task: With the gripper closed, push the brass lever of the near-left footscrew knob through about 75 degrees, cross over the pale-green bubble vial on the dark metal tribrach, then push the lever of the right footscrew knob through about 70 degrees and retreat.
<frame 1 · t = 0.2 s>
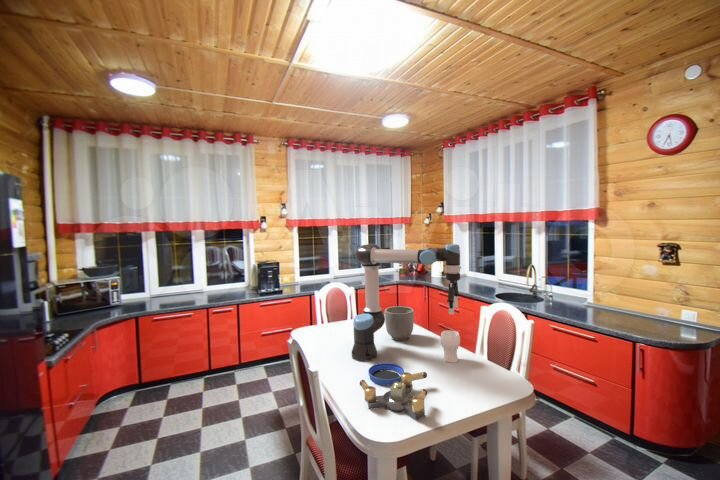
hand: (453, 310, 174), 28 cm above the table, fingers open, 13 cm apart
cup: (450, 360, 176), on the table
knob 1: (420, 399, 128), point 5 cm above the table, hinge at 0.0°
bowl: (386, 377, 158), on the table
knob 2: (414, 377, 147), point 5 cm above the table, hinge at 0.0°
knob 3: (366, 389, 137), point 5 cm above the table, hinge at 0.0°
tribrach: (398, 403, 135), on the table
planter: (399, 338, 212), on the table
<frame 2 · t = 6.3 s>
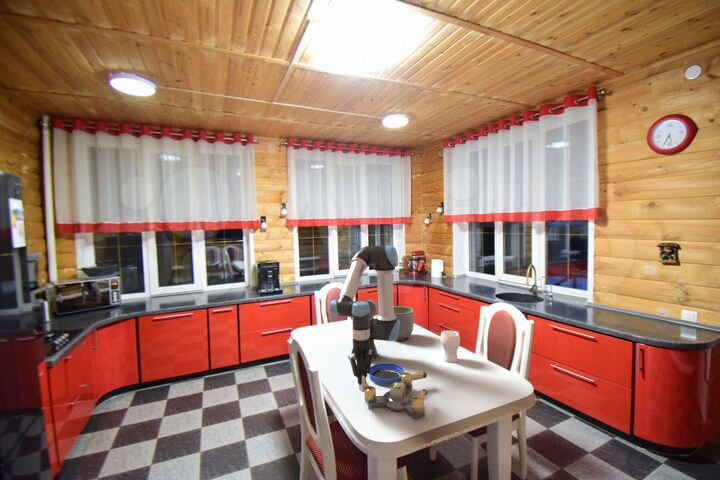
hand: (362, 390, 138), 4 cm above the table, fingers closed
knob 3: (367, 389, 138), point 5 cm above the table, hinge at -3.3°, touching gripper
everything else where it was.
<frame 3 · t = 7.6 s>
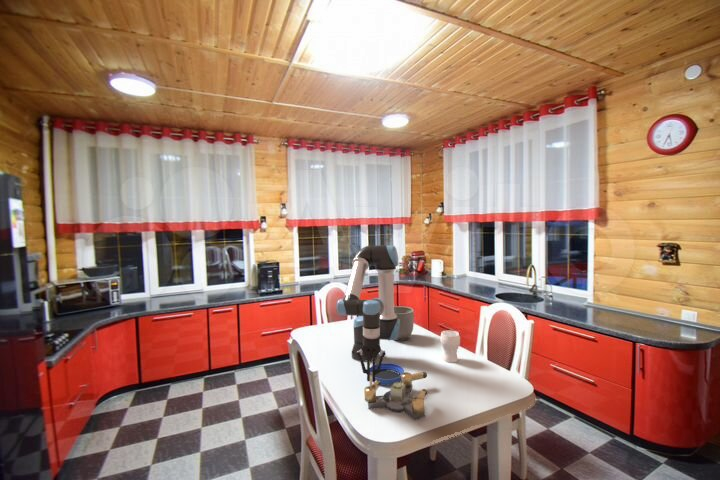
hand: (371, 387, 140), 4 cm above the table, fingers closed
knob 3: (373, 389, 137), point 5 cm above the table, hinge at -42.8°, touching gripper
everything else where it was.
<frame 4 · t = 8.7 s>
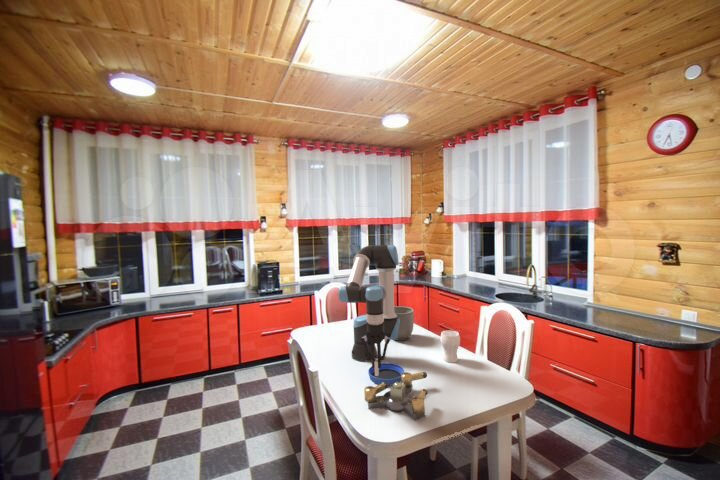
hand: (376, 374, 139), 10 cm above the table, fingers closed
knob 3: (377, 390, 136), point 5 cm above the table, hinge at -66.8°
everything else where it was.
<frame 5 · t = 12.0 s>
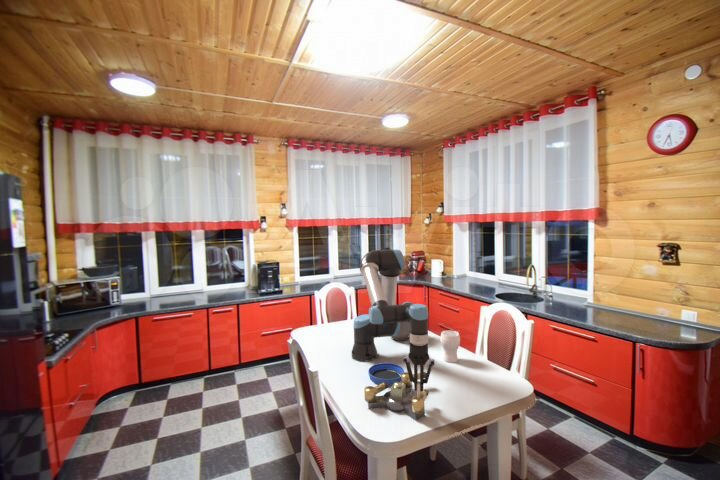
hand: (418, 398, 131), 4 cm above the table, fingers closed
knob 1: (421, 399, 128), point 5 cm above the table, hinge at -3.1°, touching gripper
everything else where it was.
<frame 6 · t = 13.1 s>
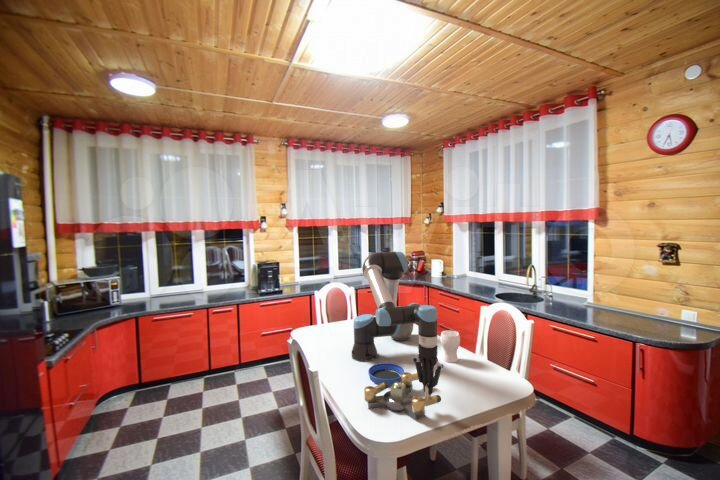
hand: (428, 400, 129), 4 cm above the table, fingers closed
knob 1: (427, 402, 126), point 5 cm above the table, hinge at -41.7°, touching gripper
everything else where it was.
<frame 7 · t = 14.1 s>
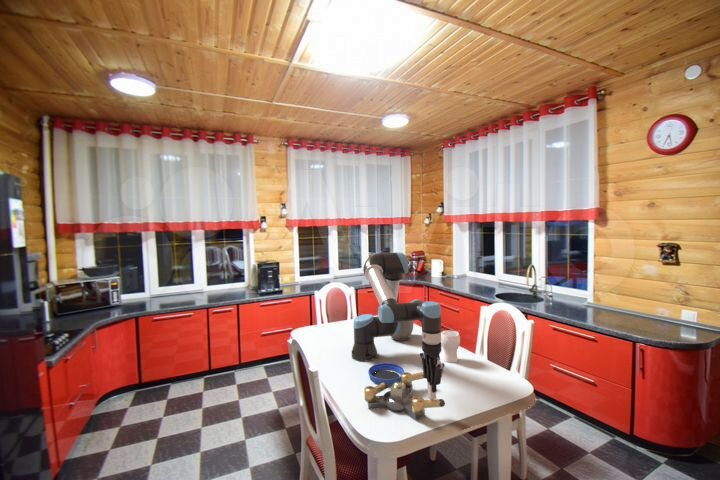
hand: (432, 398, 127), 6 cm above the table, fingers closed
knob 1: (428, 404, 125), point 5 cm above the table, hinge at -61.6°
everything else where it was.
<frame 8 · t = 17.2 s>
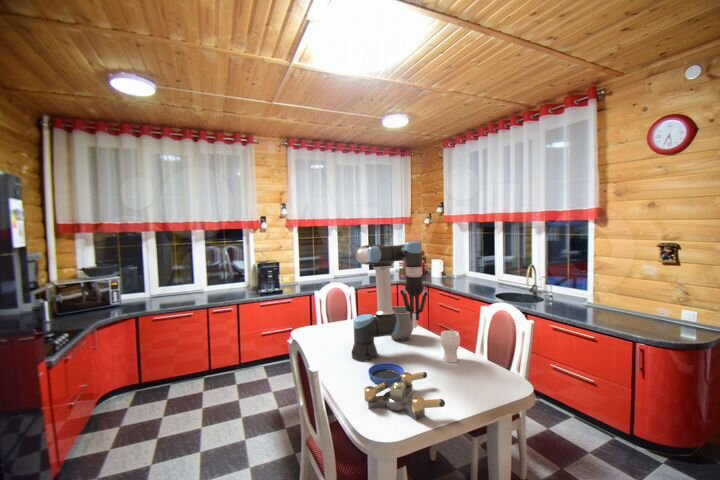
hand: (415, 326, 144), 29 cm above the table, fingers closed
nothing on the table moved.
at the end: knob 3 at -67° (first picture: +0°); knob 1 at -62° (first picture: +0°); knob 2 at +0° (first picture: +0°) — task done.
